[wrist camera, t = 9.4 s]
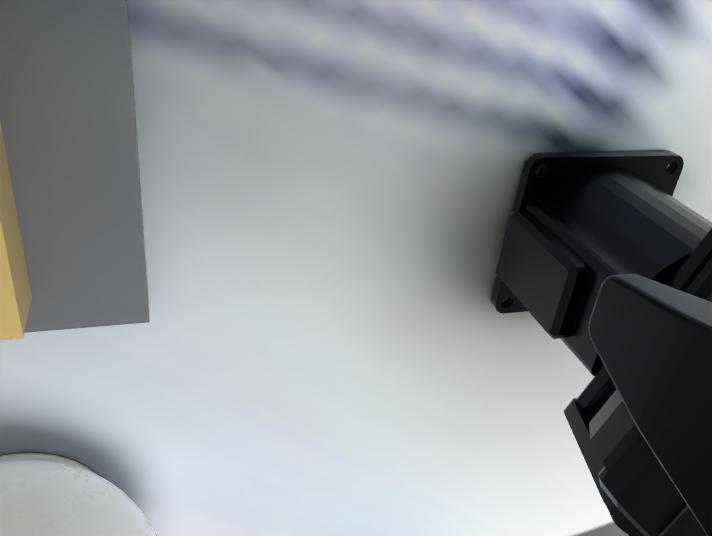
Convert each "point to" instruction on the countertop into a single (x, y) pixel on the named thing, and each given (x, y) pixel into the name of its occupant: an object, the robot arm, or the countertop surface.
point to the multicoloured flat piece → (68, 169)
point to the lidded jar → (63, 500)
